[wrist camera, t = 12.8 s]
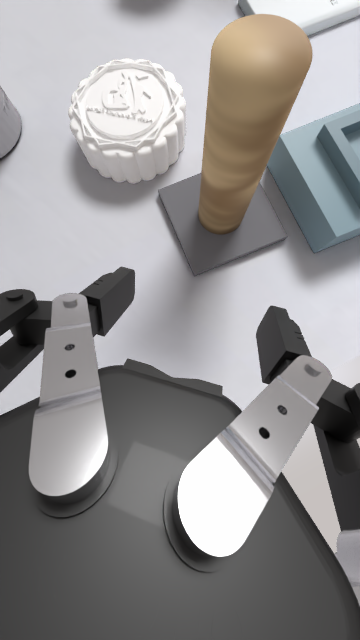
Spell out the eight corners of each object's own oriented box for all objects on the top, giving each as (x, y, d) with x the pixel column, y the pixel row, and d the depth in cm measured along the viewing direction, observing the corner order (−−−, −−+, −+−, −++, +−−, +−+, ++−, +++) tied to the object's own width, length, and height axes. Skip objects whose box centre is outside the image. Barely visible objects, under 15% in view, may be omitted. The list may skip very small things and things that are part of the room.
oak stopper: (208, 241, 20) (235, 110, 9) (191, 202, 20) (195, 35, 9) (250, 224, 20) (330, 73, 9) (232, 186, 20) (284, 1, 9)
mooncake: (198, 105, 23) (200, 60, 19) (169, 195, 21) (165, 166, 18) (102, 86, 23) (87, 40, 20) (69, 172, 22) (46, 139, 19)
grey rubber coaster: (194, 275, 20) (194, 273, 19) (158, 194, 21) (158, 190, 20) (284, 239, 20) (287, 236, 19) (243, 160, 21) (245, 155, 21)
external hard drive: (236, 11, 25) (326, -24, 25) (264, 59, 23) (358, 22, 24) (240, -12, 23) (336, -50, 23) (270, 38, 22) (371, -1, 22)
